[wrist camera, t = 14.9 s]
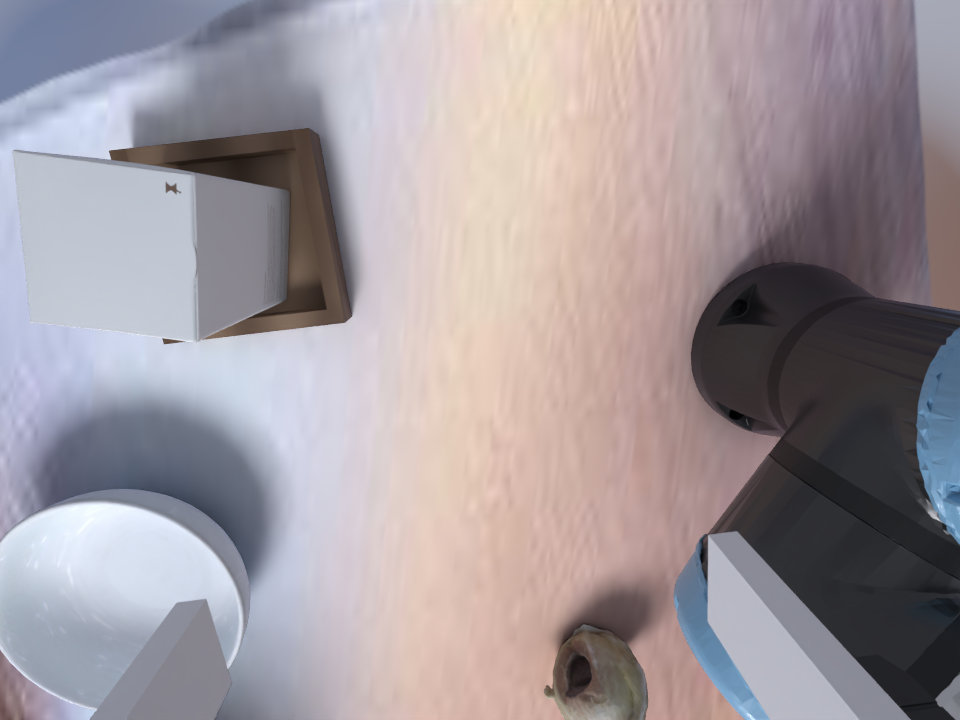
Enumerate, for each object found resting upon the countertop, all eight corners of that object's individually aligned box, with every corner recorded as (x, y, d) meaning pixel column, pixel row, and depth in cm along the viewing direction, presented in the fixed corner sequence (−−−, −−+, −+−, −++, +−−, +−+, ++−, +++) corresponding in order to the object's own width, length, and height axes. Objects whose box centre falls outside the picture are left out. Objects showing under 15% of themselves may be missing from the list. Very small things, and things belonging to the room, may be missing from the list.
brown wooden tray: (318, 135, 39) (308, 128, 36) (351, 316, 43) (344, 322, 40) (133, 155, 39) (108, 150, 36) (182, 336, 43) (164, 344, 40)
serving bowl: (305, 517, 48) (281, 564, 41) (226, 678, 52) (192, 744, 45) (84, 425, 44) (18, 460, 38) (19, 605, 49) (-50, 665, 42)
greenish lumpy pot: (614, 612, 55) (682, 677, 46) (602, 685, 56) (666, 762, 46) (539, 621, 51) (597, 693, 42) (527, 698, 52) (581, 786, 43)
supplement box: (173, 172, 39) (3, 140, 24) (292, 189, 39) (197, 167, 25) (175, 290, 41) (21, 325, 26) (288, 304, 41) (198, 345, 27)
